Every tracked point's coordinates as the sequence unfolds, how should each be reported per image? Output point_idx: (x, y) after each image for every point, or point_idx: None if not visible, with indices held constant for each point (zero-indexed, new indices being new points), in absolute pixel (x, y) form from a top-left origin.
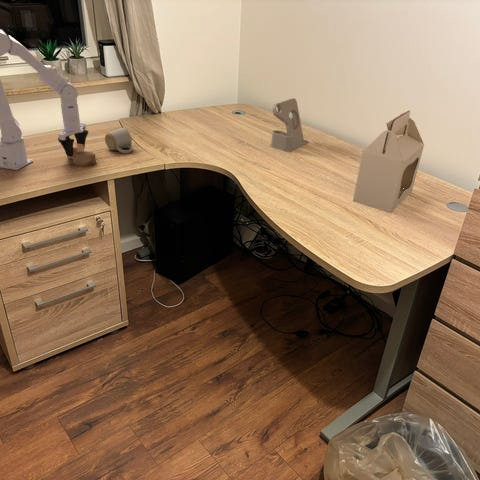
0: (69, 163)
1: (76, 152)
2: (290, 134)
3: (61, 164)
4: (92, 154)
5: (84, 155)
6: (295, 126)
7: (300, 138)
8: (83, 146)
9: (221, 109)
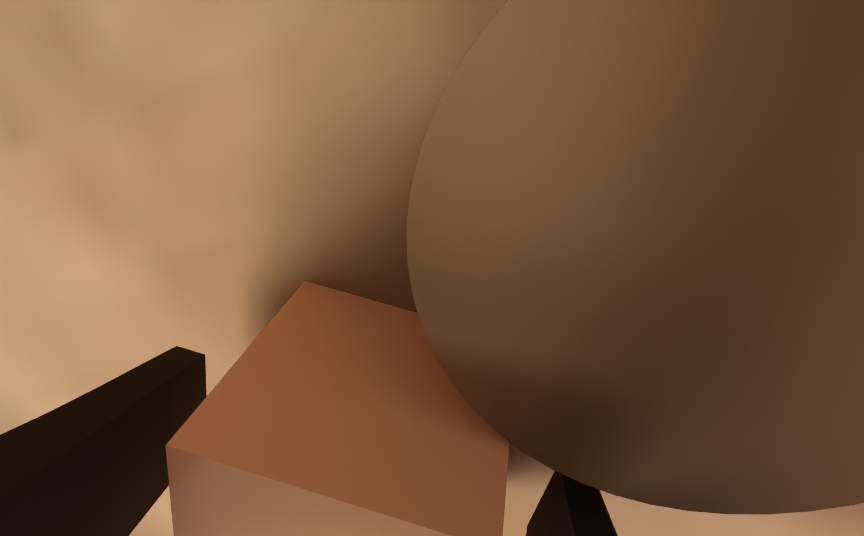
0: None
1: (501, 461)
2: None
3: (767, 523)
4: (654, 6)
5: (750, 256)
6: None
7: None
8: (212, 407)
9: None
